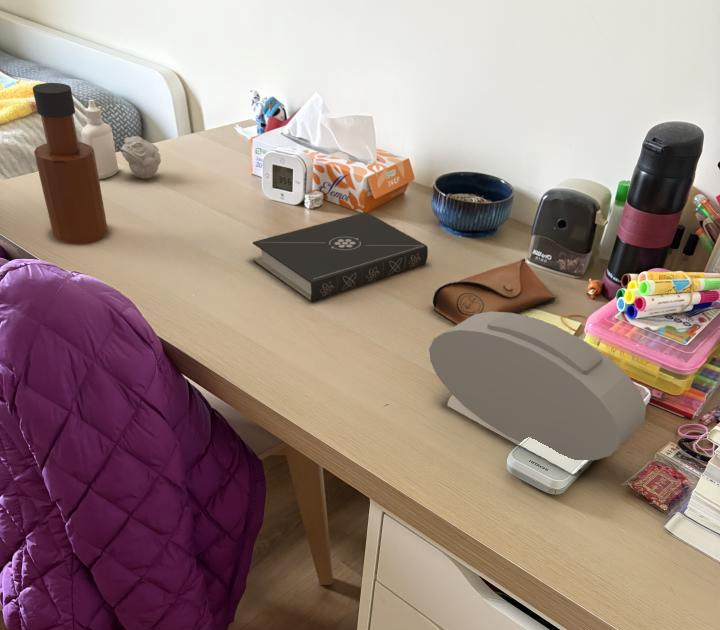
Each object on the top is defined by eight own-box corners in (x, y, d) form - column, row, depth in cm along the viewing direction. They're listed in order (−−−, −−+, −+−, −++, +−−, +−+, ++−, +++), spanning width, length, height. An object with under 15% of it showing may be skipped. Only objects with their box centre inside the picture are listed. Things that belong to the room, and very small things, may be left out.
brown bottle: (48, 243, 105) (19, 119, 94) (58, 221, 111) (32, 102, 99) (103, 244, 106) (81, 122, 95) (110, 222, 112) (90, 104, 100)
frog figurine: (116, 177, 125) (110, 135, 121) (149, 168, 130) (144, 127, 125) (138, 187, 123) (132, 145, 118) (171, 178, 127) (166, 136, 122)
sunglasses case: (475, 332, 94) (464, 281, 92) (439, 335, 100) (428, 288, 98) (561, 297, 103) (552, 250, 101) (523, 302, 109) (515, 257, 107)
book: (312, 303, 98) (313, 283, 96) (252, 261, 106) (252, 241, 104) (427, 265, 109) (429, 246, 107) (365, 229, 117) (366, 211, 115)
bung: (38, 136, 97) (28, 92, 93) (45, 125, 100) (36, 81, 96) (75, 138, 97) (67, 93, 94) (81, 126, 101) (73, 83, 97)
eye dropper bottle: (123, 176, 126) (112, 102, 118) (92, 181, 123) (78, 105, 115) (115, 168, 129) (103, 95, 120) (83, 172, 126) (69, 98, 118)
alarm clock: (625, 466, 77) (668, 367, 68) (598, 494, 73) (640, 392, 64) (452, 375, 87) (471, 278, 79) (421, 395, 84) (437, 296, 75)
